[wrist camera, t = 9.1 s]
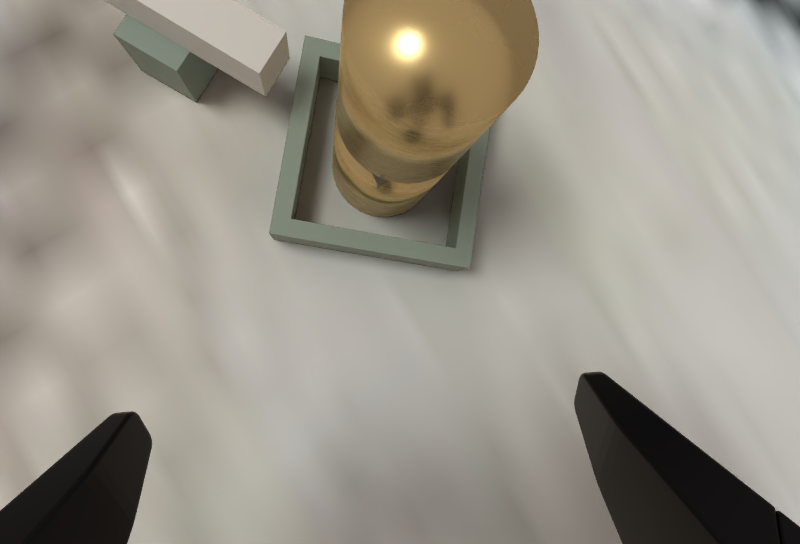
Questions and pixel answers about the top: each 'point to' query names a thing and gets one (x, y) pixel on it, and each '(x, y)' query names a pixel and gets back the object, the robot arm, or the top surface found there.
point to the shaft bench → (259, 68)
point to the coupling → (422, 91)
